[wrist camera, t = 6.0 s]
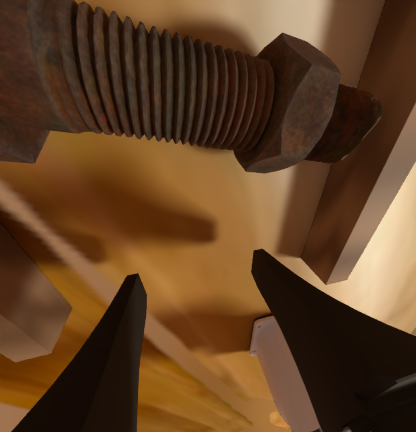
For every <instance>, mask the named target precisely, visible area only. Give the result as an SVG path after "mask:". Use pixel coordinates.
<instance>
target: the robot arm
mask: <svg viewBox="0 0 416 432" xmlns="http://www.w3.org/2000/svg"><path fill="white" fill-rule="evenodd" d="M251 273H252V275H253V278H254V280H255V282H256V285H257V287H258V289H259V291H260V293H261V294H262V296H263V298H264V300H265V302H266V303H267V305H268V307H269V309H270V311H271V312H272V314H273V316H269V317H265V318H262V319H258V320H256V321H255V322H254V328H253V333H252V339H251V345H250V351H249V354H250V356H254V355H257V357H258V359H259V362H260V365H261V367H262V370H263V372H264V375H265V378H266V380H267V383H268V386H269V388H270V391H271V394H272V396H273V399H274V402H275V404H276V407H277V409H278V411H279V413H280V415H281V416H282V418H283V419H284V420H285V422H286V423H287V424H288V425H289V426H290V428H291V430H292V432H416V336H414V335H411V334H409V333H407V332H404V331H402V330H399V329H397V328H394V327H392V326H390V325H387V324H385V323H383V322H381V321H378V320H376V319H374V318H372V317H370V316H368V315H365V314H363V313H361V312H359V311H357V310H355V309H353V308H351V307H349V306H347V305H346V304H344V303H342V302H340V301H338V300H336V299H334V298H333V297H331V296H329V295H327V294H326V293H324V292H322V291H321V290H319V289H317V288H316V287H314V286H313V285H311V284H310V283H308V282H307V281H305V280H304V279H302V278H301V277H299V276H298V275H296V274H295V273H294V272H292V271H291V270H289V269H288V268H287V267H285V266H284V265H283V264H281V263H280V262H279V261H278V260H276V259H275V258H274V257H272V256H271V255H270V254H269V253H267V252H266V251H265V250H263V249H259V250H254V253H253V261H252V270H251ZM146 309H147V294H146V291H145V289H144V286H143V284H142V281H141V279H140V276H139V274H138V273H137V274H132V275H127V277H126V278H125V280H124V282H123V283H122V285H121V287H120V289H119V291H118V292H117V294H116V296H115V297H114V299H113V301H112V302H111V304H110V306H109V307H108V309H107V311H106V312H105V314H104V315H103V317H102V319H101V320H100V322H99V323H98V325H97V326H96V328H95V329H94V331H93V332H92V334H91V335H90V336H89V338H88V339H87V341H86V342H85V343H84V345H83V346H82V348H81V349H80V350H79V352H78V353H77V354H76V356H75V357H74V358H73V360H72V361H71V362H70V363H69V365H68V366H67V367H66V368H65V370H64V371H63V372H62V373H61V375H60V376H59V377H58V378H57V380H56V381H55V382H54V383H53V385H52V386H51V387H50V388H49V389H48V391H47V392H46V393H45V394H44V395H43V396H42V398H41V399H40V400H39V401H38V402H37V403H36V404H35V405H34V407H33V408H32V409H31V410H30V411H29V412H28V413H27V415H26V416H25V417H24V418H23V419H22V420H21V421H20V423H19V424H18V425H17V426H16V427H15V428H14V429H13V430H12V431H11V432H137V405H138V382H139V365H140V356H141V349H142V342H143V334H144V327H145V320H146Z"/></svg>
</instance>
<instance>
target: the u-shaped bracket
mask: <svg viewBox="0 0 416 432" xmlns="http://www.w3.org/2000/svg"><path fill="white" fill-rule="evenodd" d="M357 90H362V91H366V92H369V93H371V94H372V95H374V97H373V98H372V99H374V98H375V100H376V101H378V100H379V101H380V103H381V106H382V116H381V118H380V120H379V121H378V123H377V124H376V125H375V126H374V127H373V129H372V130H371V131H370V132H369V133H368V134H367V135H366V136H365V137H364V138H363V139H362V140H361V142H360V143H359V144H358V145H357V146H356V147H355V148H354V149H353V150H352V151H351V152H350V153H349V154H348V155H347V156H346V157H345V158H344V159H343V160H341V161H338V162H337V163H333V164H332V167H331V170H330V173H329V176H328V179H327V182H326V185H325V188H324V191H323V194H322V197H321V200H320V203H319V206H318V209H317V212H316V215H315V218H314V221H313V224H312V227H311V230H310V233H309V236H308V240H307V243H306V246H305V249H304V252H303V255H302V258H301V259H302V260H303V261H304V262H305V263H306V264H307V265H308V266H309V267H310V269H311V270H312V271H313V272H314V273H315V274H316V275H317V276H318V277H319V278H320V279H321V280H322V281H323V283H324V284H325V285H328V284H332V283H336V282H340V281H344V280H347V279H348V277H349V275H350V274H351V272H352V270H353V268H354V267H355V265H356V263H357V261H358V260H359V258H360V256H361V255H362V253H363V251H364V249H365V248H366V246H367V244H368V243H369V241H370V239H371V237H372V236H373V234H374V232H375V231H376V229H377V227H378V225H379V224H380V222H381V220H382V218H383V217H384V215H385V213H386V212H387V210H388V208H389V206H390V205H391V203H392V201H393V200H394V198H395V196H396V194H397V193H398V191H399V189H400V188H401V186H402V184H403V182H404V181H405V179H406V177H407V175H408V174H409V172H410V170H411V169H412V167H413V165H414V163H415V162H416V0H386V3H385V6H384V9H383V12H382V15H381V18H380V21H379V24H378V27H377V30H376V33H375V36H374V39H373V42H372V45H371V48H370V51H369V55H368V58H367V61H366V64H365V67H364V70H363V73H362V76H361V79H360V82H359V85H358V88H357ZM71 310H72V307H71V306H70V305H69V304H68V302H67V301H66V300H65V299H64V298H63V296H62V295H61V294H60V293H59V292H58V291H57V289H56V288H55V287H54V286H53V285H52V284H51V282H50V281H49V280H48V279H47V278H46V276H45V275H44V274H43V273H42V272H41V271H40V269H39V268H38V267H37V266H36V265H35V263H34V262H33V261H32V260H31V259H30V258H29V256H28V255H27V254H26V253H25V252H24V250H23V249H22V248H21V247H20V246H19V245H18V243H17V242H16V241H15V240H14V239H13V237H12V236H11V235H10V234H9V233H8V232H7V230H6V229H5V228H4V227H3V226H2V224H1V223H0V354H2V355H4V356H5V357H7V358H9V359H10V360H12V361H14V362H19V361H23V360H27V359H31V358H35V357H39V356H43V355H47V354H51V353H52V351H53V349H54V346H55V344H56V342H57V340H58V338H59V336H60V334H61V331H62V329H63V327H64V325H65V323H66V321H67V319H68V316H69V314H70V312H71Z"/></svg>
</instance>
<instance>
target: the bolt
mask: <svg viewBox="0 0 416 432" xmlns="http://www.w3.org/2000/svg"><path fill="white" fill-rule="evenodd" d="M339 80H340V72H339V70H338V68H337V66H336V65H335V64H334V63H333V62H332V61H331V60H330V59H329V58H328V57H327V56H325V55H324V54H323V53H322V52H321V51H319V50H318V49H317V48H315V47H314V46H312V45H311V44H309V43H308V42H306V41H303V40H301V39H298V38H295V37H293V36H290V35H287V34H285V33H281V34H280V35H279V36H278V37H277V38H276V39H274V40H273V41H272V42H271V43H270V44H269V45H267V46H266V47H265V48H264V49H263V50H262V51H261V52H260V53H259V54H258V56H257V57H251V56H250V55H249V54H244V55H243V54H242V53H241V52H240V51H236V52H233V50H232V49H230V48H227V49H225V50H224V49H223V47H222V46H219V45H217V46H216V47H215V48H214V47H213V44H212V43H208V42H206V44H205V45H204V46H203V43H202V40H200V39H196V40H195V42H194V44H193V42H192V39H191V37H190V36H186V37H185V39H184V40H183V41H182V39H181V36H180V34H179V33H177V32H176V33H175V35H174V36H173V38H172V39H171V37H170V35H169V33H168V31H167V30H166V29H164V31H163V33H162V35H161V37H160V36H159V34H158V32H157V30H156V28H155V27H154V26H152V28H151V31H150V33H149V35H148V32H147V30H146V28H145V26H144V24H143V23H142V22H140V23H139V25H138V27H137V29H135V27H134V25H133V23H132V21H131V19H130V17H128V16H126V19H125V21H124V24H123V23H122V22H121V20H120V18H119V17H118V15H117V13H116V12H114V11H112V13H111V14H110V17H109V18H108V17H107V15H106V13H105V11H104V10H103V9H102V8H100V7H96V9H95V13H94V12H93V10H92V8H91V7H90V5H88V4H87V3H85V2H82V3H80V4H79V5H78V4H77V3H76V2H75V1H74V0H0V161H10V162H22V163H35V162H36V160H37V157H38V155H39V153H40V151H41V149H42V147H43V145H44V143H45V141H46V138H47V136H48V134H49V132H50V130H52V131H60V132H69V133H82V132H92V131H93V132H95V133H98V134H101V133H102V132H104V133H105V134H108V135H111V134H113V133H114V132H115V134H116V136H122V135H123V134H124V132H125V134H126V136H127V137H132V136H133V134H134V133H135V135H136V137H137V138H138V139H141V138H142V136H143V135H144V134H145V136H146V138H147V139H148V140H150V139H151V138H152V137H153V136H154V135H155V137H156V139H157V141H159V142H160V141H161V139H162V138H163V137H165V140H166V142H167V143H169V142H170V140H171V139H172V138H173V140H174V143H175V144H177V143H178V141H179V140H180V139H181V142H182V144H183V145H184V144H185V143H186V142H187V141H188V140H189V143H190V145H191V146H193V145H194V144H195V143H196V142H197V145H198V146H202V145H203V144H204V145H205V146H206V147H207V148H208V147H210V146H211V145H212V146H213V148H218V147H220V148H221V149H226V148H227V149H228V150H233V151H234V154H235V157H236V158H237V160H238V162H239V163H240V165H241V166H242V167H243V169H244V170H245V171H246V172H256V173H269V172H274V171H278V170H282V169H285V168H288V167H291V166H293V165H295V164H297V163H299V162H300V161H302V160H309V161H316V162H323V163H337V162H338V161H341V160H343V159H344V158H345V157H346V156H347V155H348V154H349V153H350V152H351V151H352V150H353V149H354V148H355V147H356V146H357V145H358V144H359V143H360V142H361V140H362V139H363V138H364V137H365V136H366V135H367V134H368V133H369V132H370V131H371V130H372V129H373V127H374V126H375V125H376V124H377V123H378V121H379V120H380V118H381V116H382V106H381V103H380V101H379V100H378V101H376V100H375V98H374V99H372V98H373V97H374V95H372V94H371V93H369V92H366V91H362V90H357V89H355V88H351V87H348V86H345V85H341V84H339Z"/></svg>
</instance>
